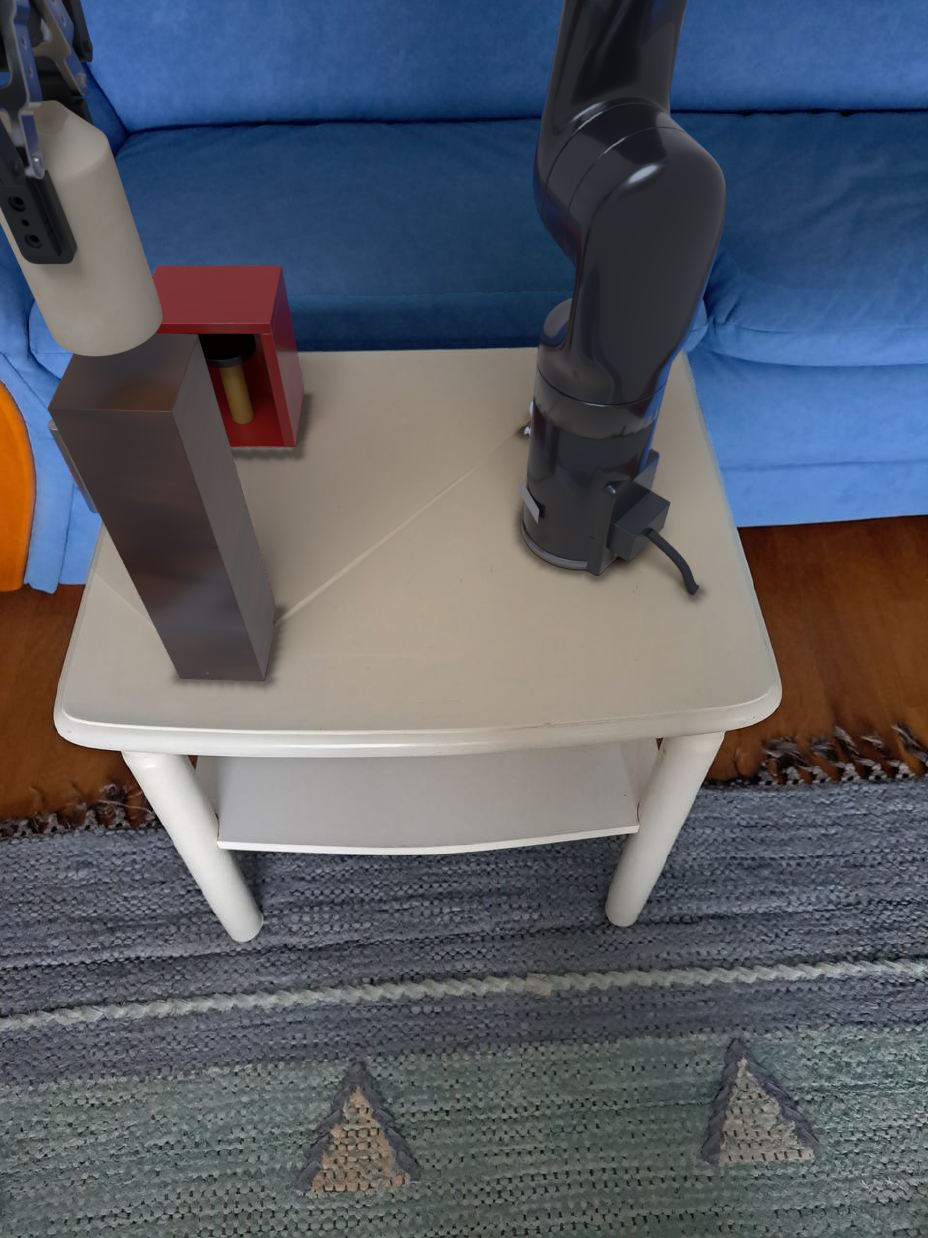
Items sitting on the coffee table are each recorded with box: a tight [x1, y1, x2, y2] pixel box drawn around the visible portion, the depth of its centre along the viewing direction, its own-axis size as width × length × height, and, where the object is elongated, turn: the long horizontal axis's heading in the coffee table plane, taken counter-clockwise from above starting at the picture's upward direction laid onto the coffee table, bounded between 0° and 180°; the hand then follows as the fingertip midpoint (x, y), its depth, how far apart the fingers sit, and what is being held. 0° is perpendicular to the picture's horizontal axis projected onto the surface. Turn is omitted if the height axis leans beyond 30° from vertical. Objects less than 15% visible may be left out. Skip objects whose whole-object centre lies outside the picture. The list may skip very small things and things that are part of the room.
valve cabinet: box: [152, 264, 305, 448], centre depth 76 cm, size 8×10×14 cm
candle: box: [0, 100, 162, 356], centre depth 40 cm, size 6×6×10 cm
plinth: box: [47, 333, 277, 682], centre depth 57 cm, size 6×6×26 cm
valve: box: [198, 334, 256, 424], centre depth 77 cm, size 5×5×8 cm
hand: (70, 219), depth 39 cm, fingers closed on candle, 5 cm apart
